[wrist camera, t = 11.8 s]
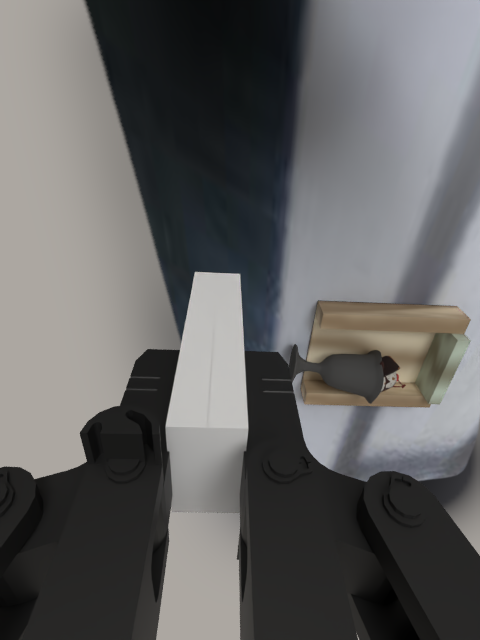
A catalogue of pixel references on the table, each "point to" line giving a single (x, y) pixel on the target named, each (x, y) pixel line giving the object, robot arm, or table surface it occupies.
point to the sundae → (352, 372)
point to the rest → (389, 349)
